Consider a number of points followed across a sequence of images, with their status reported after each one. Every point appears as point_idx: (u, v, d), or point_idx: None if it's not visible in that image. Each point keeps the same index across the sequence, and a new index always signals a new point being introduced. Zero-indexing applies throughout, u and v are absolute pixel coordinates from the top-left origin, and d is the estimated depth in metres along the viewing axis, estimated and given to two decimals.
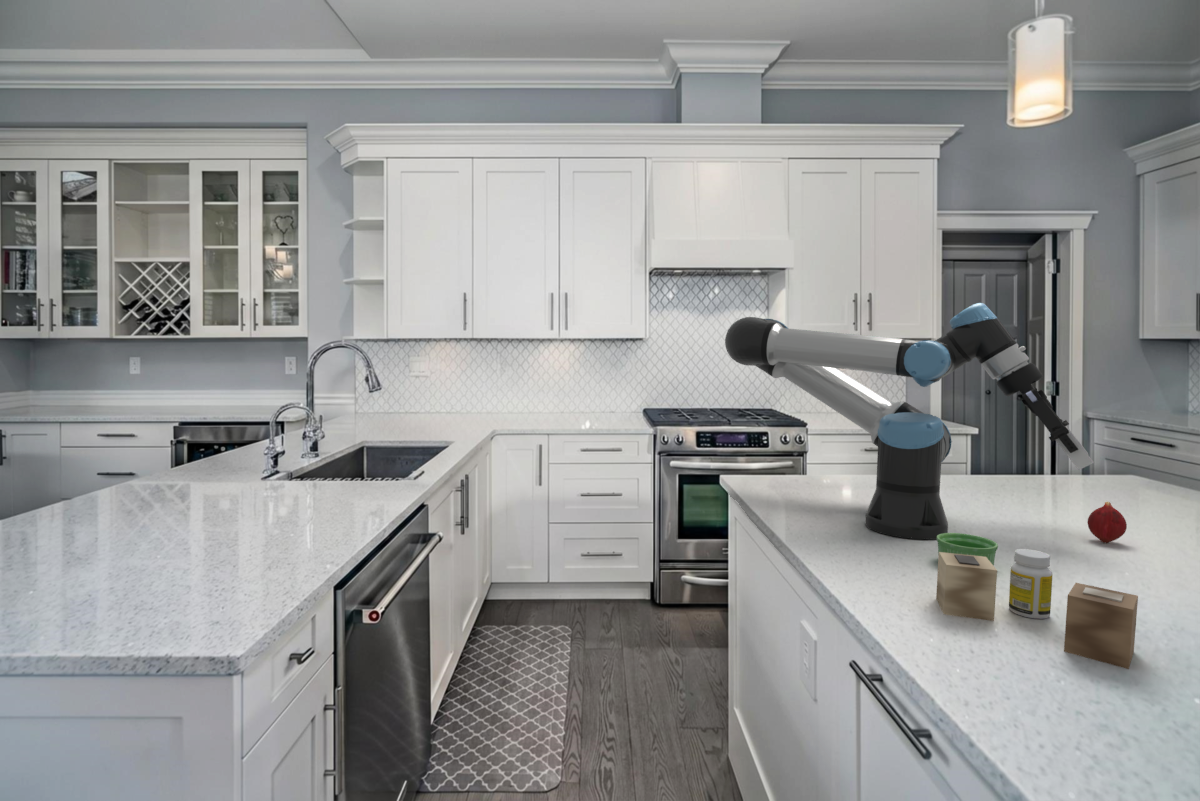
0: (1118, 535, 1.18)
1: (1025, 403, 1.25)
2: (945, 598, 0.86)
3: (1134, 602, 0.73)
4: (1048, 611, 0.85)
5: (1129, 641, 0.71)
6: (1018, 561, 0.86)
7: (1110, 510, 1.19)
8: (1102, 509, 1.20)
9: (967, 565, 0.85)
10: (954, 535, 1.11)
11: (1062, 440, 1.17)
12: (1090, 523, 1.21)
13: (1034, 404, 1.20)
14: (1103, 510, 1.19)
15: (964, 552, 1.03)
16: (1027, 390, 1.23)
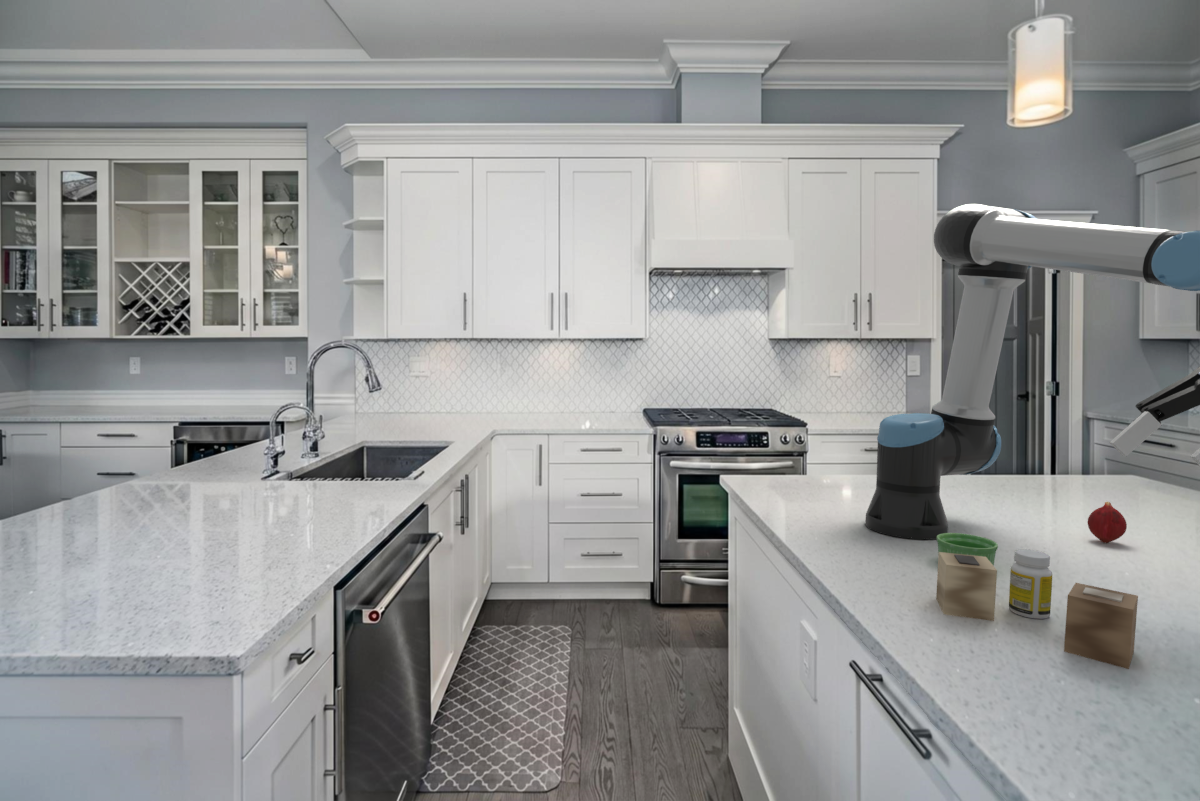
0: (1118, 535, 1.18)
1: None
2: (945, 598, 0.86)
3: (1134, 602, 0.73)
4: (1048, 611, 0.85)
5: (1129, 641, 0.71)
6: (1018, 561, 0.86)
7: (1110, 510, 1.19)
8: (1102, 509, 1.20)
9: (967, 565, 0.85)
10: (954, 535, 1.11)
11: None
12: (1090, 523, 1.21)
13: None
14: (1103, 510, 1.19)
15: (964, 552, 1.03)
16: None
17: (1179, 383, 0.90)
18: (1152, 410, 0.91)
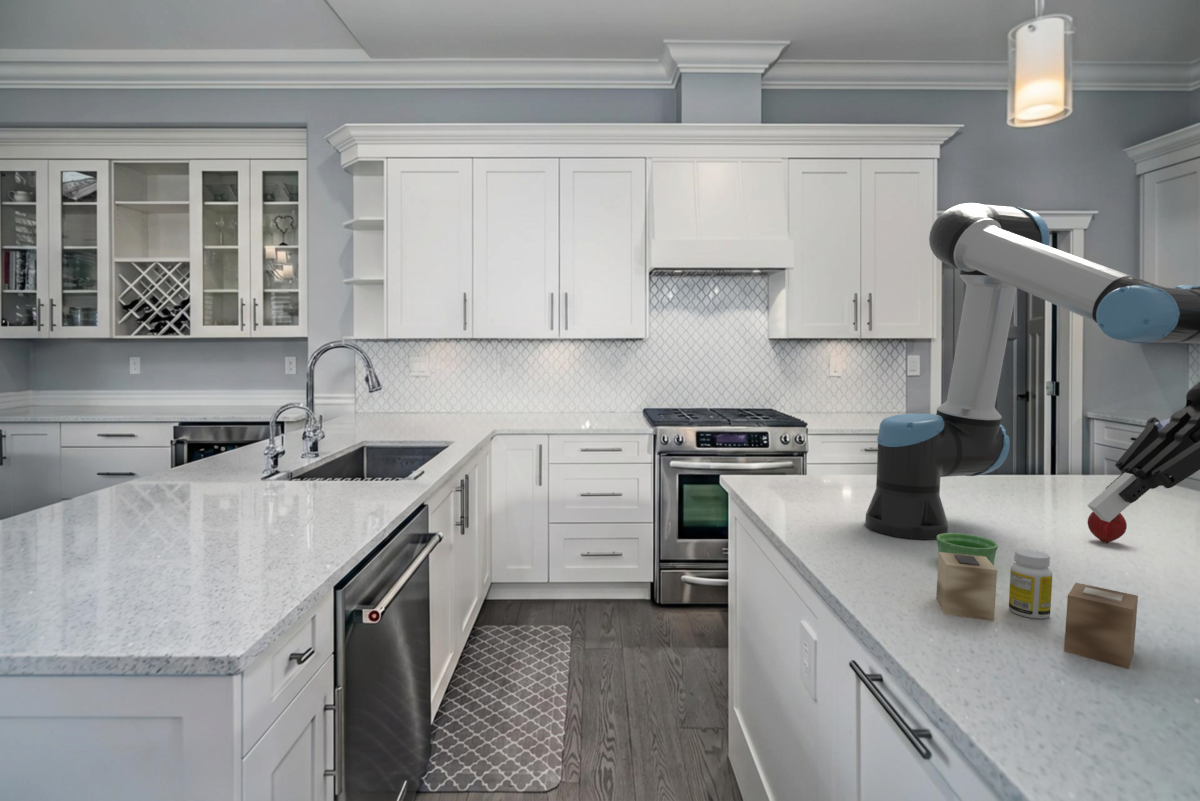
0: (1118, 535, 1.18)
1: (1199, 421, 0.81)
2: (945, 598, 0.86)
3: (1134, 602, 0.73)
4: (1048, 611, 0.85)
5: (1129, 641, 0.71)
6: (1018, 561, 0.86)
7: None
8: None
9: (967, 565, 0.85)
10: (954, 535, 1.11)
11: (1142, 483, 0.82)
12: (1090, 523, 1.21)
13: None
14: None
15: (964, 552, 1.03)
16: None
17: (1144, 436, 0.87)
18: (1133, 471, 0.84)
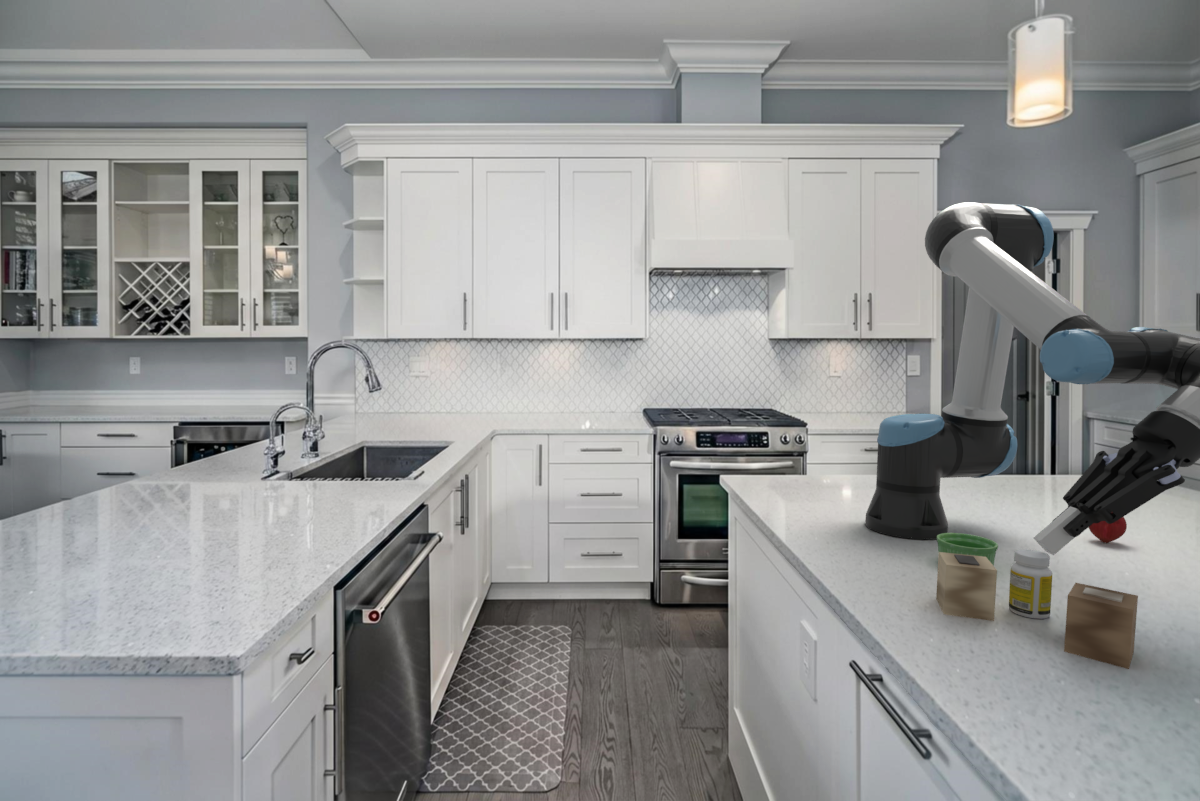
0: (1118, 535, 1.18)
1: (1141, 458, 0.83)
2: (945, 598, 0.86)
3: (1134, 602, 0.73)
4: (1048, 611, 0.85)
5: (1129, 641, 0.71)
6: (1018, 561, 0.86)
7: None
8: None
9: (967, 565, 0.85)
10: (954, 535, 1.11)
11: (1085, 518, 0.84)
12: None
13: (1153, 482, 0.79)
14: None
15: (964, 552, 1.03)
16: (1178, 456, 0.80)
17: (1092, 470, 0.89)
18: (1078, 505, 0.86)
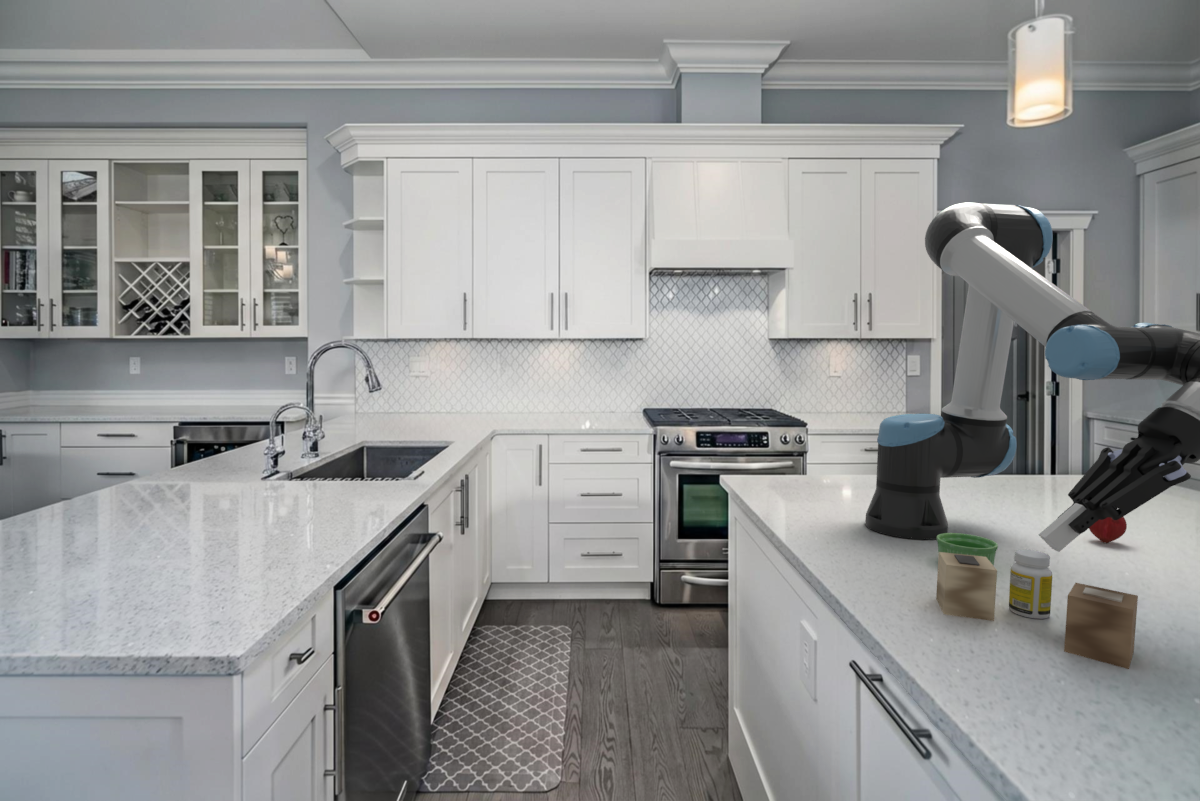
0: (1118, 535, 1.18)
1: (1147, 454, 0.82)
2: (945, 598, 0.86)
3: (1134, 602, 0.73)
4: (1048, 611, 0.85)
5: (1129, 641, 0.71)
6: (1018, 561, 0.86)
7: None
8: None
9: (967, 565, 0.85)
10: (954, 535, 1.11)
11: (1091, 514, 0.83)
12: None
13: (1159, 478, 0.79)
14: None
15: (964, 552, 1.03)
16: (1184, 452, 0.80)
17: (1097, 467, 0.89)
18: None
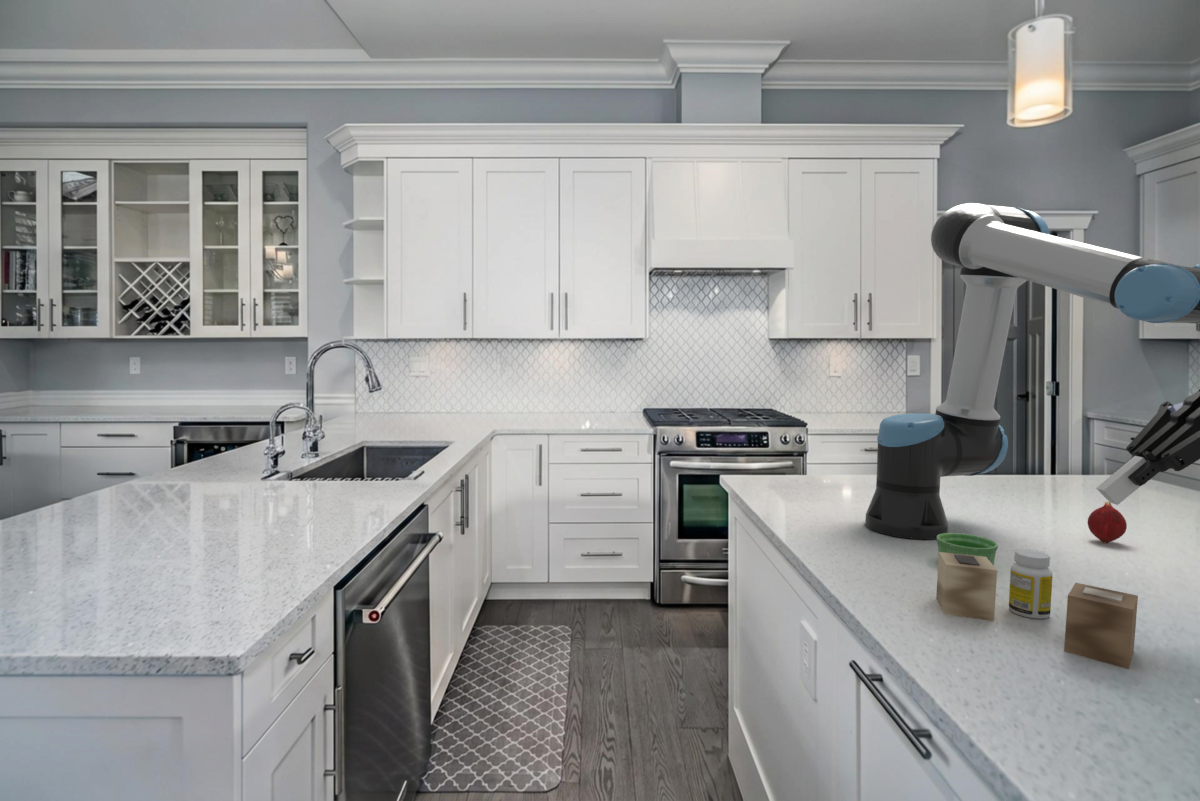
0: (1118, 535, 1.18)
1: None
2: (945, 598, 0.86)
3: (1134, 602, 0.73)
4: (1048, 611, 0.85)
5: (1129, 641, 0.71)
6: (1018, 561, 0.86)
7: (1110, 510, 1.19)
8: (1102, 509, 1.20)
9: (967, 565, 0.85)
10: (954, 535, 1.11)
11: (1151, 466, 0.82)
12: (1090, 523, 1.21)
13: None
14: (1103, 510, 1.19)
15: (964, 552, 1.03)
16: None
17: (1157, 420, 0.87)
18: (1143, 455, 0.84)
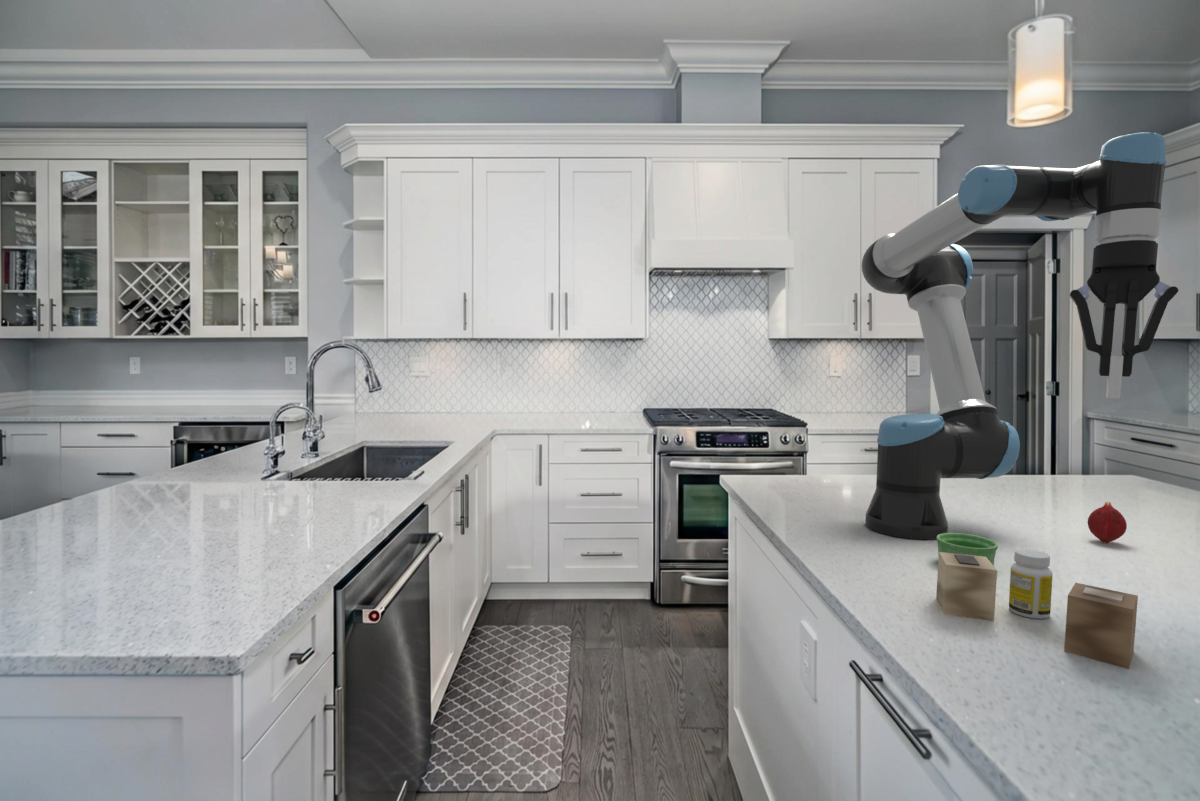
0: (1118, 535, 1.18)
1: (1139, 288, 0.93)
2: (945, 598, 0.86)
3: (1134, 602, 0.73)
4: (1048, 611, 0.85)
5: (1129, 641, 0.71)
6: (1018, 561, 0.86)
7: (1110, 510, 1.19)
8: (1102, 509, 1.20)
9: (967, 565, 0.85)
10: (954, 535, 1.11)
11: None
12: (1090, 523, 1.21)
13: None
14: (1103, 510, 1.19)
15: (964, 552, 1.03)
16: None
17: (1088, 313, 0.97)
18: None
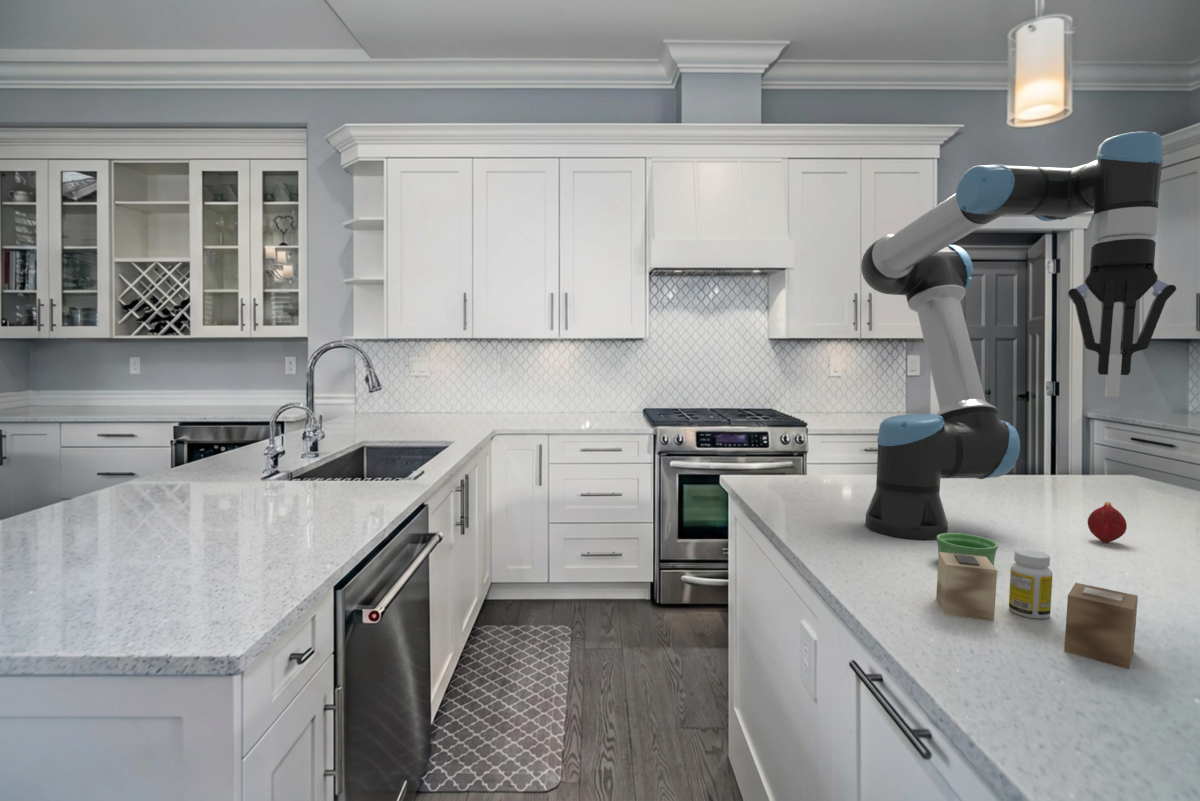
0: (1118, 535, 1.18)
1: (1137, 287, 0.93)
2: (945, 598, 0.86)
3: (1134, 602, 0.73)
4: (1048, 611, 0.85)
5: (1129, 641, 0.71)
6: (1018, 561, 0.86)
7: (1110, 510, 1.19)
8: (1102, 509, 1.20)
9: (967, 565, 0.85)
10: (954, 535, 1.11)
11: None
12: (1090, 523, 1.21)
13: None
14: (1103, 510, 1.19)
15: (964, 552, 1.03)
16: None
17: (1086, 311, 0.97)
18: None
